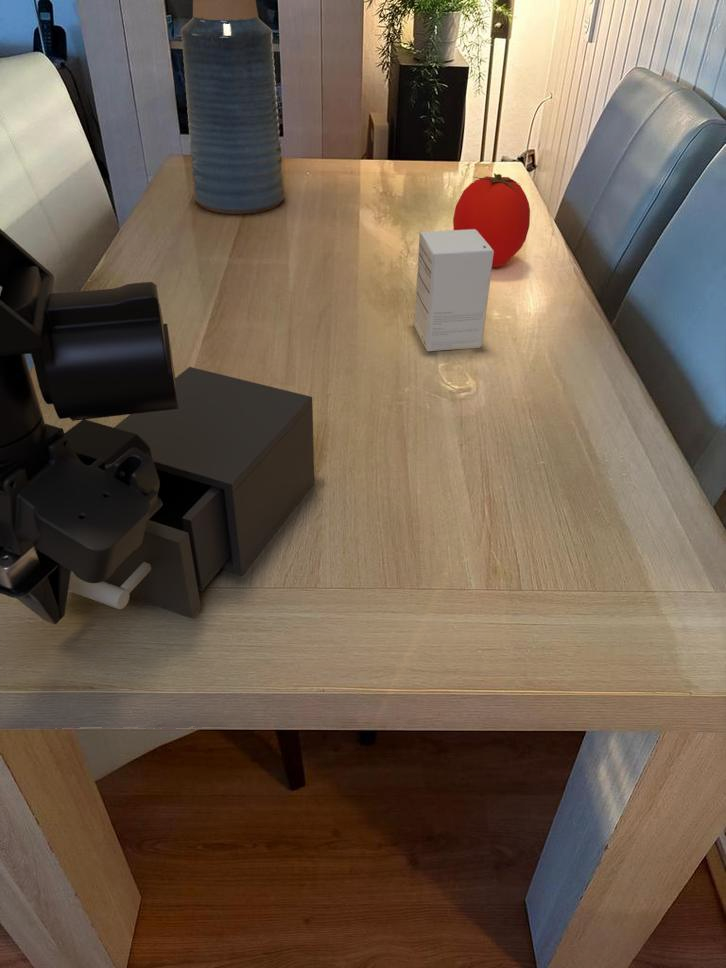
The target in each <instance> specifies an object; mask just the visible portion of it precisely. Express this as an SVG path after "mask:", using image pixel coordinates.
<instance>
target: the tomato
mask: <svg viewBox="0 0 726 968" xmlns="http://www.w3.org/2000/svg"><path fill="white" fill-rule="evenodd" d="M493 175H494V176H484V177H476V176H473V178H475V179H476V180H474V181H473V182H471V183H470V184H469V185H468V186H467V187H465V189H463V191H462V193H461V195H460V197H459V199H458V201H457V203H456V205H455V208H454V211H453V217H452V225H453V226H452V227H453V228H452V229H453V230H469V229H476V230H477V231H478V233H479V234H480V235H481V236H482V237H483V238H484V240H485V241H486V242H487V243H488V244H489V246H490V247H491V248H492V250H493V251H494V255H493V262H492V268H497V267H501V266H504V265H505V264H507V263H508V262H509V261H510V260H511V259H512V258H513V257H515V255H516V254H517V253H518V252H520V250H521V249H522V248H523V246H524V244H525V243H526V240H527V237H528V233H529V229H530V223H531V222H530V221H531V208H530V202H529V200H528V197H527V195H526V193H525V191H524V189H523V187H522V186H521V184H520V183H519V182H517V181H516V180H515V179H512V178H511V177H509V176H502V174H501V173H497V174H496V173H495V172H494V173H493Z"/></svg>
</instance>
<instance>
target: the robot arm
mask: <svg viewBox="0 0 726 968" xmlns="http://www.w3.org/2000/svg"><path fill="white" fill-rule="evenodd" d="M54 283H55V276H54V274H53V273H52V272H51V271H49V269H48V268H46V267H45V266H44V265H43V264H41V262H39V261H38V260H37V259H36V258H34V257H33V256H32V255H31V254H30V252H28V251H27V250H26V249H24V248H23V247H22V246H21V245H20V244H19V243H17V241H15V240H14V239H13V238H12V237H10V236H9V234H7V233H6V232H5V231H4V230H2V229H1V228H0V287H1V290H0V594H1V595H4V596H6V597H9V598H13V599H16V600H18V601H19V602H20V603H22V604H23V605H24V606H25V607H27V608H28V609H29V610H30V611H32V612H33V613H34V614H36V615H37V616H38V617H39V618H41V620H43V621H45V622H48V623H50V624H53V625H57V624H58V623H59V622H60V621H61V620H62V619H63V618H64V617H65V614H66V608H67V600H68V595H69V591H68V588H69V581H70V575H71V571H72V572H73V573H74V574H75V576H76V577H78V578H79V579H81V580H83V581H85V582H88V583H100V582H103V581H105V580H106V579H108V578H109V577H110V576H111V575H112V574H113V573H114V571H115V569H116V568H117V567H118V566H119V565H120V564H121V563H122V562H123V561H124V560H125V559H126V558H127V557H128V556H129V555H130V554H131V553H132V552H133V551H134V550H136V549H137V548H138V547H139V546H140V545H141V544H142V541H143V537H144V533H145V528H146V524H147V521H148V520H149V519H150V518H151V517H152V516H153V515H154V514H155V513H156V512H157V511H158V510H159V509H160V508H161V507H162V505H163V503H162V500H161V499H160V498H159V497H158V491H159V486H160V481H159V478H158V474H157V471H156V468H155V465H154V461H153V458H152V455H151V450H150V447H149V445H148V444H147V443H146V442H145V441H144V439H143V438H142V437H141V436H139V435H137V434H134V433H131V432H127V431H124V430H120V429H117V428H114V426H109V425H106V424H102V423H99V422H96V421H93V420H92V419H100V418H101V419H103V418H111V417H121V416H129V415H130V414H137V413H146V412H155V411H164V410H172V409H179V405H178V396H177V388H176V381H175V378H176V375H175V368H174V360H173V354H172V345H171V340H170V333H169V326H168V323H164V319H163V313H162V307H161V304H160V299H159V293H158V285H157V284H155V282H153V281H144V282H134V283H127V284H123V285H121V286H118V287H114V288H105V289H92V290H81V291H80V290H79V291H78V290H77V291H68V292H66V291H65V292H55V293H54V291H53V289H54ZM28 354H29V355H30V354H31V357H32V361H33V365H34V369H35V374H36V379H37V383H38V387H39V390H40V393H41V397H42V398H43V401H44V402H45V403H46V405H53V409H54V410H55V413H56V415H57V417H58V419H59V420H62V419H63V420H64V419H69V420H71V421H72V422H74V421H79V422H77V423H76V424H75V425H74V426H72V427H71V428H70V429H68V430H67V431H66V432H65V431H64V428H62V427H59V426H55V425H52V424H49V423H46V422H45V419H44V415H43V411H42V409H41V405H40V402H39V398H38V395H37V392H36V388H35V385H34V381H33V378H32V373H31V371H30V368H29V364H28V361H27V358H26V355H28Z"/></svg>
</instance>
